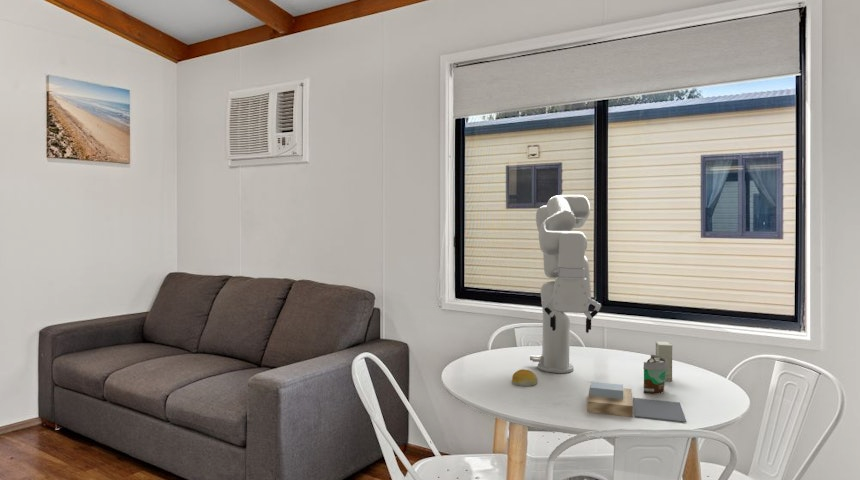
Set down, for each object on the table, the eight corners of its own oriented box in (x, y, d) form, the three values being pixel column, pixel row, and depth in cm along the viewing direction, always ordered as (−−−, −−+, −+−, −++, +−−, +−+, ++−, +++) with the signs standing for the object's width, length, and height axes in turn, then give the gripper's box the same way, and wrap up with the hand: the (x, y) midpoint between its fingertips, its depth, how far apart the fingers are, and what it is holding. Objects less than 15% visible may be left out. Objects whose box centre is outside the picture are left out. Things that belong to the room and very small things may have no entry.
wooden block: (587, 411, 157) (587, 401, 157) (589, 394, 172) (590, 384, 172) (632, 416, 153) (632, 406, 153) (631, 398, 168) (631, 388, 168)
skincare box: (672, 381, 186) (673, 345, 185) (658, 380, 187) (659, 344, 186) (668, 376, 192) (669, 341, 191) (654, 375, 193) (655, 340, 192)
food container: (664, 397, 169) (664, 365, 169) (642, 394, 172) (643, 362, 172) (670, 387, 180) (671, 356, 179) (650, 384, 183) (651, 354, 182)
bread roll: (511, 386, 180) (511, 374, 180) (512, 378, 189) (512, 366, 189) (537, 387, 179) (537, 375, 179) (537, 379, 188) (537, 368, 188)
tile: (590, 396, 161) (590, 387, 161) (591, 389, 167) (591, 381, 167) (623, 399, 158) (623, 390, 158) (622, 393, 164) (622, 384, 164)
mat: (634, 417, 153) (634, 415, 153) (632, 398, 168) (632, 397, 168) (686, 422, 149) (686, 421, 149) (679, 403, 164) (679, 402, 164)
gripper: (540, 273, 164) (539, 331, 165) (601, 275, 159) (600, 335, 159) (543, 271, 171) (542, 326, 172) (602, 273, 166) (601, 330, 166)
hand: (570, 330), depth 165 cm, fingers open, 9 cm apart
